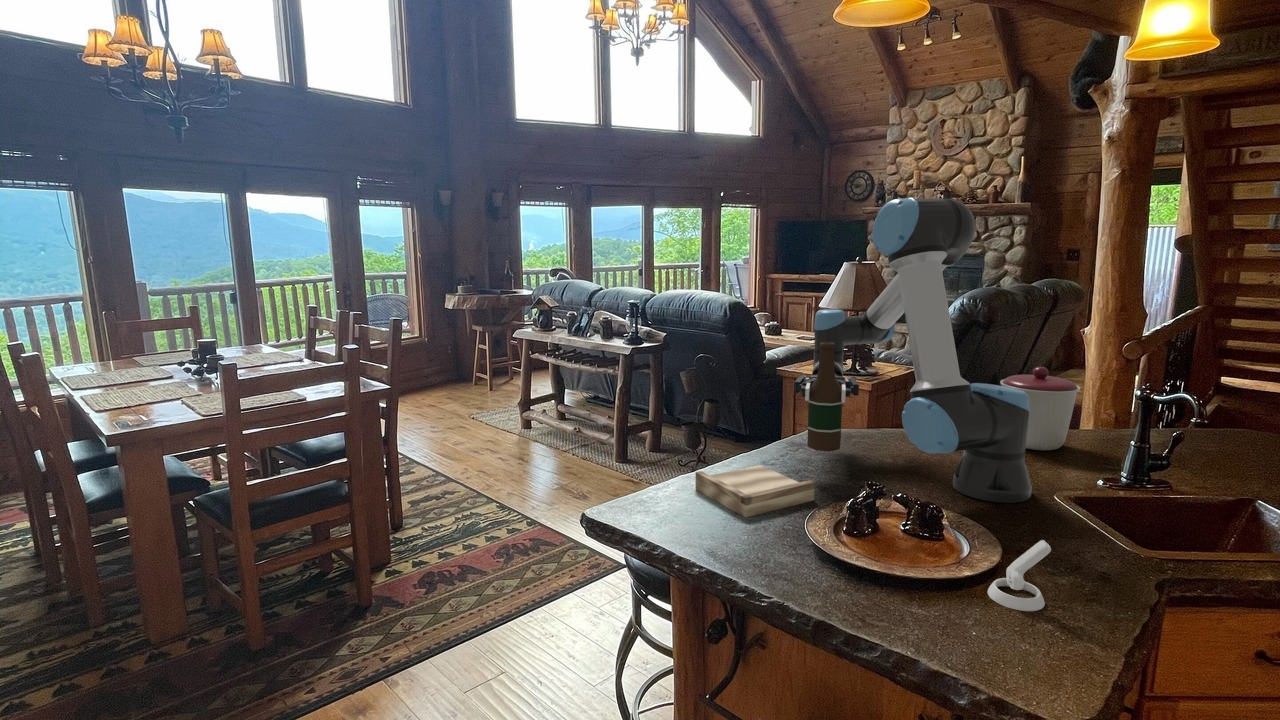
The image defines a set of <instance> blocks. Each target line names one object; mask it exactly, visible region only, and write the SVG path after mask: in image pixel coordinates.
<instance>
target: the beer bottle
mask: <svg viewBox="0 0 1280 720" xmlns="http://www.w3.org/2000/svg"><path fill="white" fill-rule="evenodd" d="M819 348H820V356H819V367H818V375H817V378H816V380H815V381H814V382H813V384H812V387H811V389H810V396H809V401H808V404H807V405H808V408H807V409H808V410H807V412H808V414H807V448H809V449H811V450H814V451H816V452H817V451H818V452H833V451H834V452H835V451H839V450H840V449H841V439H842V419H843V418H842V411H843V402H842V390H841V387H840V384H839V383H838V381H837V380H836V378H835V368H834V349H835V343H833V342H821V343H820V345H819Z"/></svg>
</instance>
